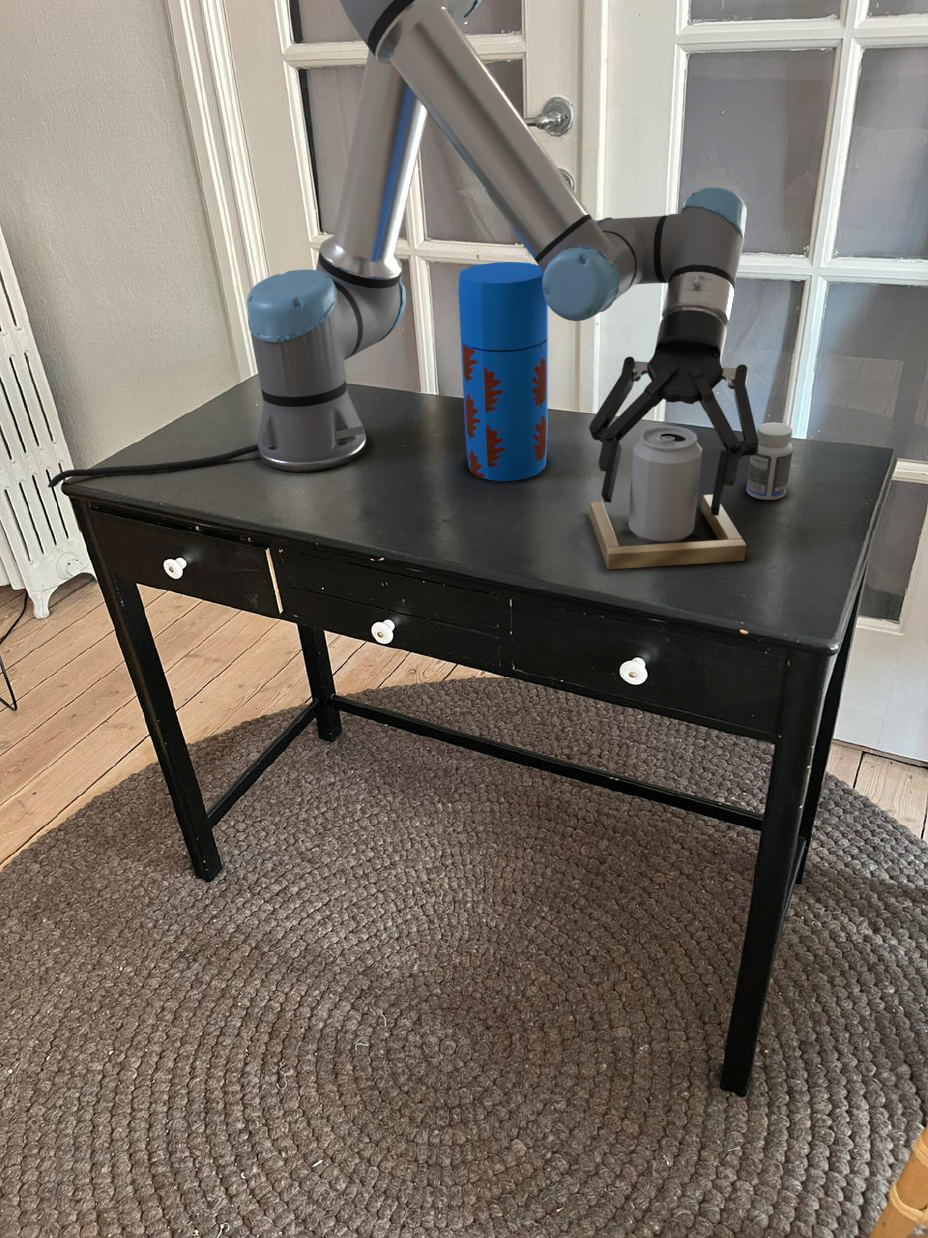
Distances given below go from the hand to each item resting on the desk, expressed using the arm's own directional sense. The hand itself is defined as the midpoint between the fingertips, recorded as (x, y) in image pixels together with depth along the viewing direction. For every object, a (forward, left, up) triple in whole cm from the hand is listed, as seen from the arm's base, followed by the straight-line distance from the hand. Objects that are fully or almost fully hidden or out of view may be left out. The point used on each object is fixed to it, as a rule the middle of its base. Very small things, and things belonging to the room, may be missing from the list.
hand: (659, 504), depth 101 cm
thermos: (-15, +24, -5) cm, 29 cm away
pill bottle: (+16, +11, -5) cm, 20 cm away
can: (+1, +3, -5) cm, 6 cm away
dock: (+1, +2, -5) cm, 5 cm away
